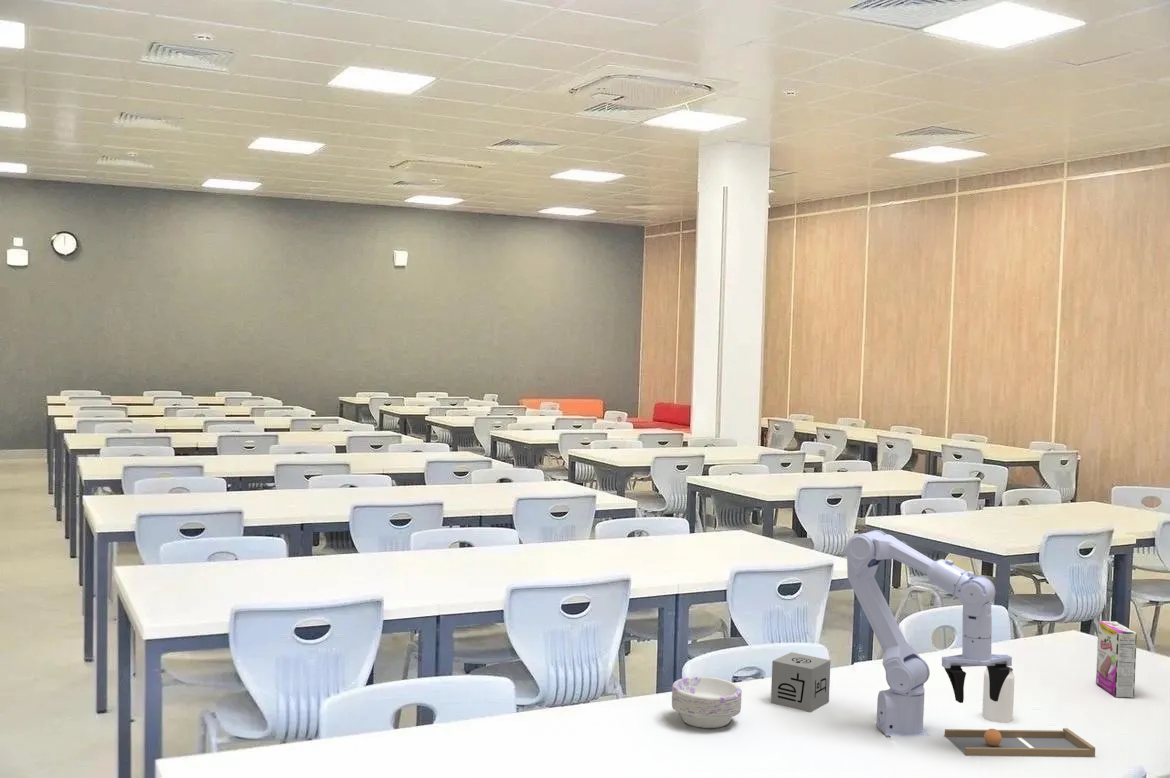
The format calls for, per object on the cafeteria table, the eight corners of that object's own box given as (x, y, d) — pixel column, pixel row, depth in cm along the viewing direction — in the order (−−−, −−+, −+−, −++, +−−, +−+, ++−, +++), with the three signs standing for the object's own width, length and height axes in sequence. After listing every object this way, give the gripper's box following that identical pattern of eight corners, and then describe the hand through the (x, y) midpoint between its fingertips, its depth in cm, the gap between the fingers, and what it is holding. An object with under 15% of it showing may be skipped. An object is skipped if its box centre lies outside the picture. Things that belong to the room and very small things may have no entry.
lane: (966, 758, 225) (966, 746, 225) (944, 738, 237) (944, 726, 237) (1094, 759, 227) (1095, 747, 227) (1066, 739, 238) (1067, 728, 238)
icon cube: (810, 712, 251) (812, 669, 251) (770, 703, 257) (772, 660, 257) (828, 702, 259) (830, 660, 259) (790, 693, 265) (791, 652, 265)
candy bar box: (1094, 684, 281) (1097, 620, 280) (1114, 685, 281) (1117, 621, 280) (1114, 698, 270) (1117, 631, 269) (1135, 698, 270) (1138, 632, 269)
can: (993, 726, 246) (996, 672, 245) (976, 716, 252) (978, 664, 252) (1018, 724, 248) (1021, 671, 247) (1000, 714, 254) (1002, 663, 253)
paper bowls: (738, 736, 234) (739, 699, 234) (666, 729, 237) (668, 692, 237) (742, 714, 249) (743, 679, 249) (675, 707, 252) (676, 673, 252)
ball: (987, 748, 229) (988, 731, 229) (980, 742, 233) (981, 726, 233) (1004, 748, 230) (1005, 732, 230) (997, 742, 233) (997, 726, 233)
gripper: (952, 641, 226) (952, 707, 226) (1019, 639, 227) (1019, 705, 228) (937, 633, 233) (937, 697, 233) (1002, 631, 234) (1001, 695, 235)
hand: (976, 700), depth 231 cm, fingers open, 7 cm apart
